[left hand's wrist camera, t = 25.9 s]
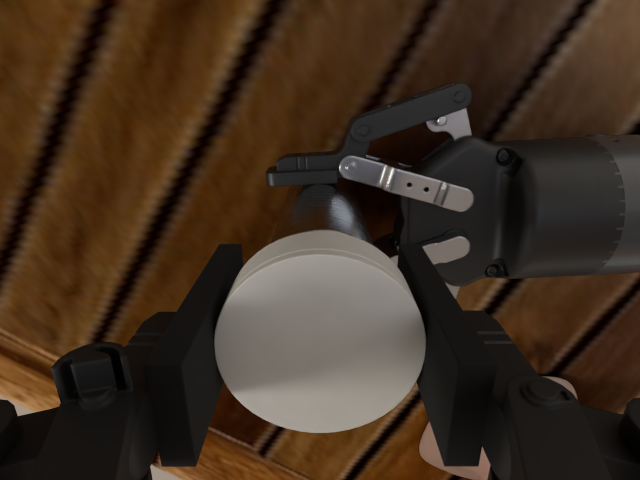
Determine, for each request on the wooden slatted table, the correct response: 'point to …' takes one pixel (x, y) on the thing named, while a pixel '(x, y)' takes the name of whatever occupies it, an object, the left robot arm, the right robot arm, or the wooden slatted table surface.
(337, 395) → the lid
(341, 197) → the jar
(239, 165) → the wooden slatted table surface
